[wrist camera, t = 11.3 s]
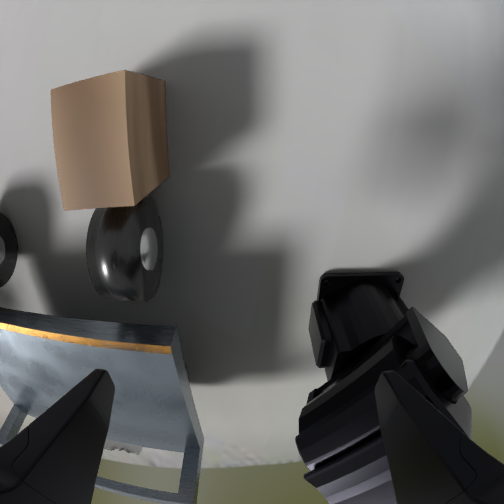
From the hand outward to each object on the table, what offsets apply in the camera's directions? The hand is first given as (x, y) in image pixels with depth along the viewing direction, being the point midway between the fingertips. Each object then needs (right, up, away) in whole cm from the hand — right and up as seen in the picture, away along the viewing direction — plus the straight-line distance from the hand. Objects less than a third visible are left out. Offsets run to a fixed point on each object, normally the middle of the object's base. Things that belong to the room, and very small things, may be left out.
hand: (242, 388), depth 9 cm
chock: (-7, +12, +8) cm, 16 cm away
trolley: (-14, 0, +14) cm, 19 cm away
